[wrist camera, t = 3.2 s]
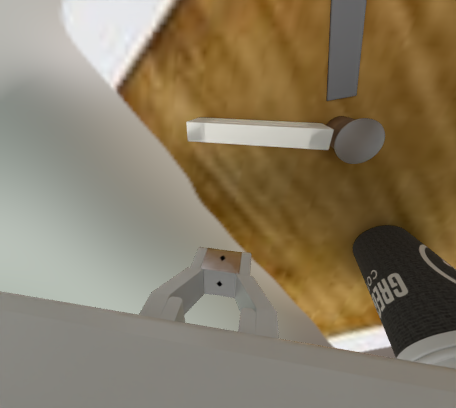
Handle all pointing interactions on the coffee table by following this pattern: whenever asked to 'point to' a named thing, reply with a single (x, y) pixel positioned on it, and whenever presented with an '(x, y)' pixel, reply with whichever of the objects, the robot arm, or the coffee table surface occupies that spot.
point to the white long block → (260, 133)
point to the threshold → (345, 47)
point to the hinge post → (356, 138)
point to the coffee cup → (410, 294)
